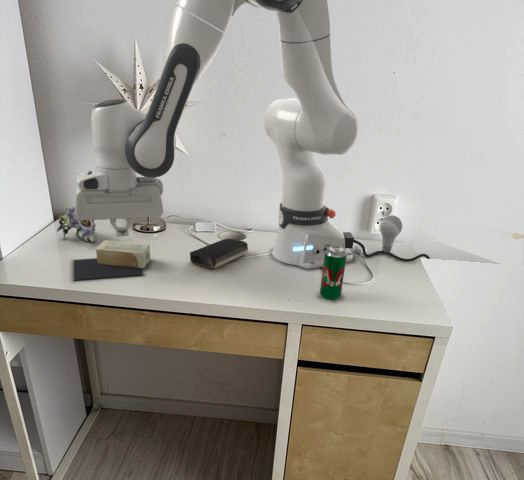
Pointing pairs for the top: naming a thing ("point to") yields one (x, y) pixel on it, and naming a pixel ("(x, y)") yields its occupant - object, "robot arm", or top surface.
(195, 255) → the black sponge
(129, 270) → the mat
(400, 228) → the lightbulb
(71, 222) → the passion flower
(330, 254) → the soda can
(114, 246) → the cosmetic box
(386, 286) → the top surface
